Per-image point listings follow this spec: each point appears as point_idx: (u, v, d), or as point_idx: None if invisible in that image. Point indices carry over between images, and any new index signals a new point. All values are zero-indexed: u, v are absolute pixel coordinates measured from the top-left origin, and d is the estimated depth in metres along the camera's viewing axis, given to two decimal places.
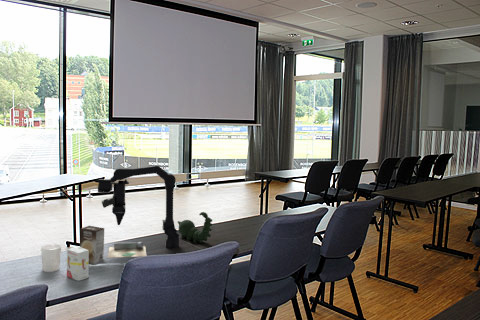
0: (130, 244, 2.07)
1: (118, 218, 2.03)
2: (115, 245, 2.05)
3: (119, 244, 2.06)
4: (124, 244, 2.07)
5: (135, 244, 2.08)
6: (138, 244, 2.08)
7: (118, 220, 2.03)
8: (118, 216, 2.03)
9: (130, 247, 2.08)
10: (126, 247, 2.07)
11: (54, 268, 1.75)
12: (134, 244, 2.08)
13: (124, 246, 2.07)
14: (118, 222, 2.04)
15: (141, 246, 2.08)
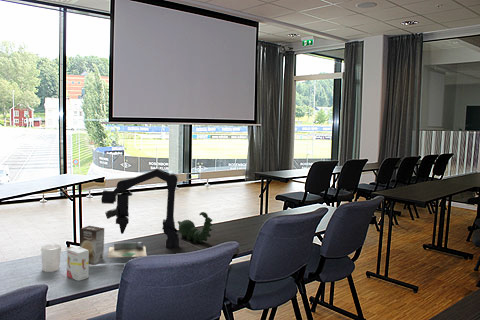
0: (130, 244, 2.07)
1: (121, 227, 2.11)
2: (115, 245, 2.05)
3: (119, 244, 2.06)
4: (124, 244, 2.07)
5: (135, 244, 2.08)
6: (138, 244, 2.08)
7: (121, 229, 2.11)
8: (121, 225, 2.11)
9: (130, 247, 2.08)
10: (126, 247, 2.07)
11: (54, 268, 1.75)
12: (134, 244, 2.08)
13: (124, 246, 2.07)
14: (121, 231, 2.12)
15: (141, 246, 2.08)
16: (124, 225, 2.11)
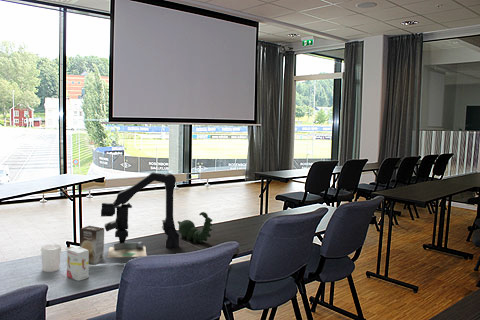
0: (130, 244, 2.07)
1: (121, 240, 2.08)
2: (115, 245, 2.05)
3: (119, 244, 2.06)
4: (124, 244, 2.07)
5: (135, 244, 2.08)
6: (138, 244, 2.08)
7: (121, 242, 2.08)
8: (121, 238, 2.07)
9: (130, 247, 2.07)
10: (126, 247, 2.07)
11: (54, 268, 1.75)
12: (134, 244, 2.08)
13: (124, 246, 2.07)
14: None
15: (141, 246, 2.08)
16: (123, 238, 2.08)
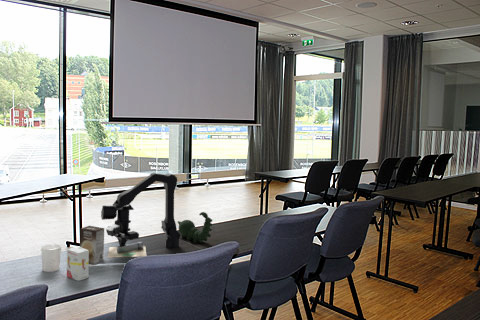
0: (132, 245, 2.05)
1: (123, 242, 2.03)
2: (119, 248, 2.00)
3: (123, 247, 2.01)
4: (127, 246, 2.03)
5: (136, 245, 2.07)
6: (140, 244, 2.08)
7: None
8: (123, 240, 2.03)
9: (132, 248, 2.06)
10: (129, 249, 2.04)
11: (54, 268, 1.75)
12: (136, 245, 2.07)
13: (127, 248, 2.03)
14: None
15: (142, 246, 2.09)
16: (125, 240, 2.04)
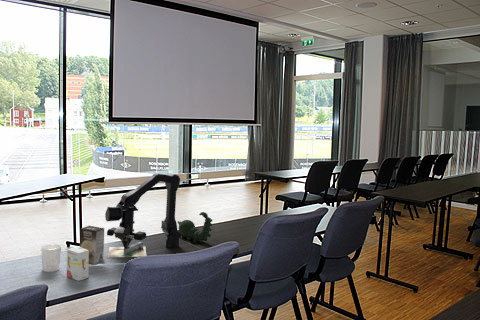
0: (135, 246, 2.05)
1: (127, 244, 2.01)
2: (127, 250, 1.98)
3: (129, 248, 2.00)
4: (132, 247, 2.02)
5: (138, 245, 2.07)
6: (141, 244, 2.08)
7: (126, 246, 2.01)
8: (128, 242, 2.01)
9: (135, 249, 2.05)
10: (133, 250, 2.03)
11: (54, 268, 1.75)
12: (138, 245, 2.07)
13: (132, 249, 2.02)
14: None
15: None
16: (129, 241, 2.02)
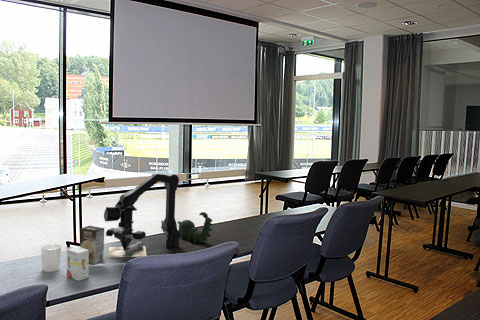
0: (136, 246, 2.05)
1: (127, 244, 2.01)
2: (128, 250, 1.98)
3: (130, 248, 2.00)
4: (133, 247, 2.02)
5: (138, 245, 2.07)
6: (141, 244, 2.08)
7: (126, 246, 2.01)
8: (128, 242, 2.00)
9: (136, 249, 2.05)
10: (134, 250, 2.03)
11: (54, 268, 1.75)
12: (138, 245, 2.07)
13: (133, 249, 2.02)
14: None
15: None
16: (129, 241, 2.02)
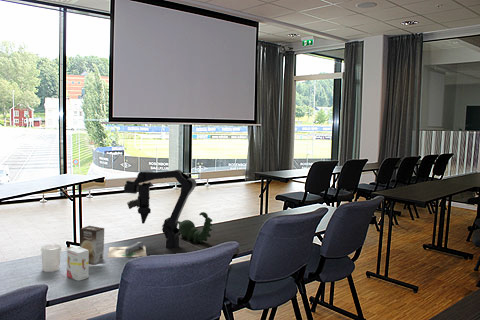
0: (136, 246, 2.05)
1: (143, 217, 2.17)
2: (128, 250, 1.98)
3: (130, 248, 2.00)
4: (133, 247, 2.02)
5: (138, 245, 2.07)
6: (141, 244, 2.08)
7: (143, 219, 2.17)
8: (143, 215, 2.17)
9: (136, 249, 2.05)
10: (134, 250, 2.03)
11: (54, 268, 1.75)
12: (138, 245, 2.07)
13: (133, 249, 2.02)
14: (143, 221, 2.18)
15: None
16: (145, 215, 2.17)
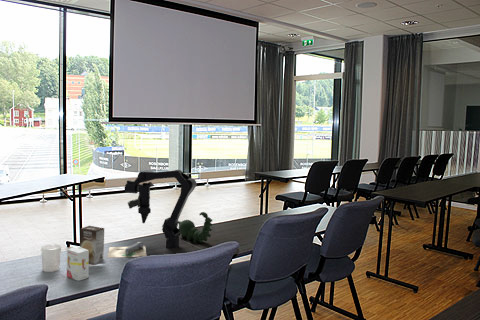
0: (136, 246, 2.05)
1: (143, 217, 2.17)
2: (128, 250, 1.98)
3: (130, 248, 2.00)
4: (133, 247, 2.02)
5: (138, 245, 2.07)
6: (141, 244, 2.08)
7: (143, 219, 2.18)
8: (143, 215, 2.17)
9: (136, 249, 2.05)
10: (134, 250, 2.03)
11: (54, 268, 1.75)
12: (138, 245, 2.07)
13: (133, 249, 2.02)
14: (143, 220, 2.18)
15: None
16: (145, 215, 2.17)
